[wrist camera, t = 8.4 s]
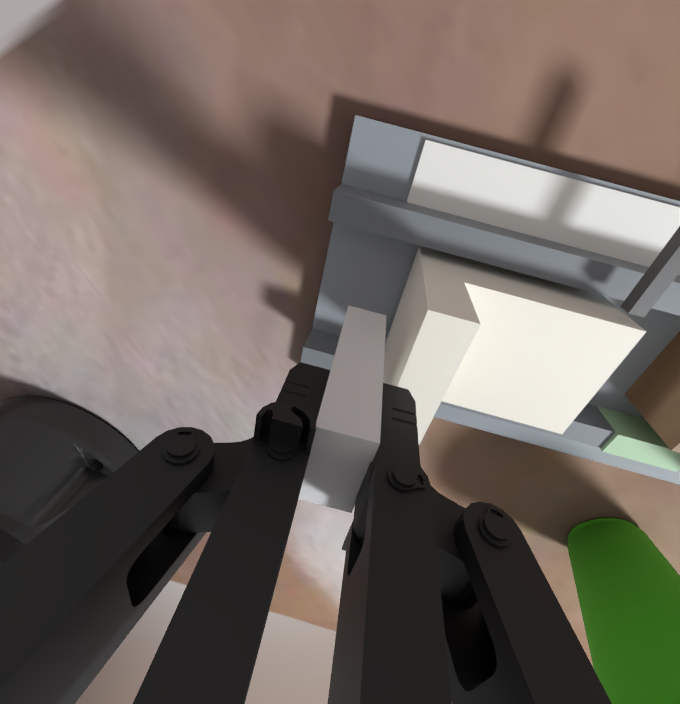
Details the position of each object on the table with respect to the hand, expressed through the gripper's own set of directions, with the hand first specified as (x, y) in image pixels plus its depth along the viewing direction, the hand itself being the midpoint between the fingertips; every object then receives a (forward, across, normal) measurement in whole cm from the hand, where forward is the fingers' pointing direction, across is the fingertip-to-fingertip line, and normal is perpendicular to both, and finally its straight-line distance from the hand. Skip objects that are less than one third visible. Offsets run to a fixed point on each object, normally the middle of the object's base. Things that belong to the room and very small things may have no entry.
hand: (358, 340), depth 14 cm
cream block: (+5, +6, +3) cm, 8 cm away
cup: (+6, +23, -15) cm, 28 cm away
